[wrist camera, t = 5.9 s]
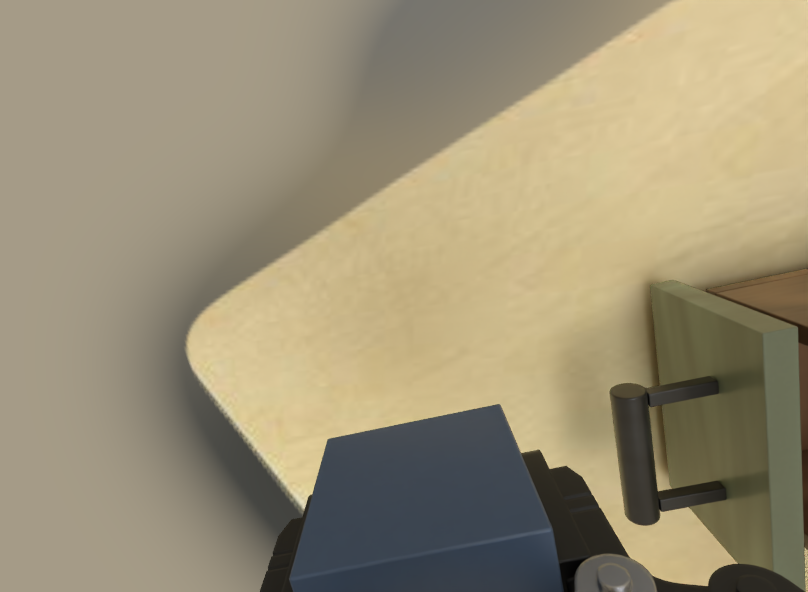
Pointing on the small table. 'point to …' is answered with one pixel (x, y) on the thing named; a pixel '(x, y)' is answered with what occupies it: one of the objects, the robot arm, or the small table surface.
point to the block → (427, 512)
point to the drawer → (726, 417)
